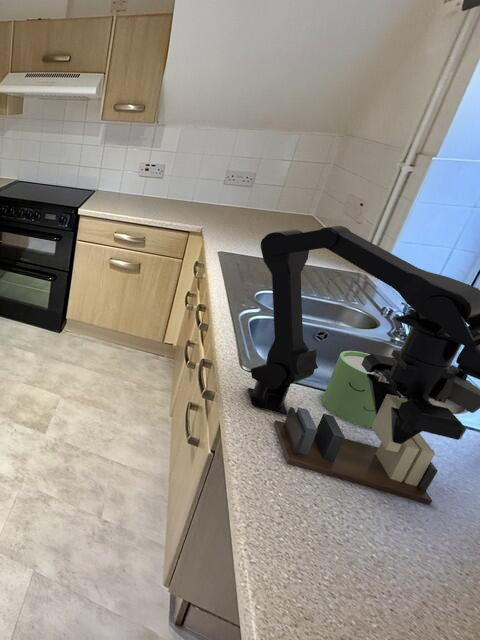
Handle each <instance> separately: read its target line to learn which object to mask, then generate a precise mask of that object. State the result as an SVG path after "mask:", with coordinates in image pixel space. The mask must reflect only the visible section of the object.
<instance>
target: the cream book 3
mask: <svg viewBox="0 0 480 640" xmlns="http://www.w3.org/2000/svg"><path fill="white" fill-rule="evenodd" d="M411 439H412V440H413V441H414V443H415V444H416V445H417V447H418V448H419V451H418V453H417V455H416V457H415V459H414V460H413V462H412V464H411V466H410V468H409V470H408V471H407V473H406V475H405V477H404V479H403V480H404V482H405V483H407V484H411V485H414V486H417V485H418V483H419V482H420V480H421V478H422V476H423V474H424V473H425V471H426V469H427V467H428V466H429V464H430V462H432V460H433V459H434V456H435V455H436V452H435V451H434V450H433V448H432V447H431V446H430V445H429V443H428V442H427V441H426V439H425V438H424V437H423V436H422V435H421V432H420V433H418V434H417V435H415V436H414V437H412V438H411Z"/></svg>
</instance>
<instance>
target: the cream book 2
mask: <svg viewBox="0 0 480 640" xmlns="http://www.w3.org/2000/svg"><path fill="white" fill-rule="evenodd" d="M378 447H379V448H378V450H377V452H376V456H377V458H378V459H379V461H380V462H381V464H382V466H383V467H384V469H385V471H386V472H387V474H388V476H389V477H390V479H393V480H397V481H400V482H402V481H403V479H404V477H405V475H406V473H407V471H408V470H409V468H410V466H411V464H412V462H413V460H414V459H415V457H416V455H417V453H418V451H419V448H418V447H417V445H416V444H415V443H414V441H413V440H412V439H411V438H410V439H409V440H407V441H406V442H404V443H402V445H401V447H400V449H399V451H398V452H394V451H390V450H386V449H385V447H384V446H383V444H382V442H381V441H380V444H379V446H378Z"/></svg>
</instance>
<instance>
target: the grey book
mask: <svg viewBox="0 0 480 640" xmlns="http://www.w3.org/2000/svg"><path fill="white" fill-rule="evenodd" d="M295 412H296V414H297V416H298V419H299V421H300V423H301V426H302V428H303V430H304V433H305V437H304V440H303V442H302V445H301V447H300V450H299V452H298V453H302V454H305V455H307V454H308V452H309V450H310V447H311V445H312V442H313V440H314V438H315V435H316V433H317V427H316V426H317V425H316V424H315V421H314V419H313V417H312V415H311V413H310V411H309V409H307V408H303V407H297V409H296V411H295Z"/></svg>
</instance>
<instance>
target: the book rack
mask: <svg viewBox="0 0 480 640" xmlns="http://www.w3.org/2000/svg"><path fill="white" fill-rule="evenodd" d="M296 412H297V411H296V410H295V407H293V406H290V407H289V409H288V411H287V415H286V417H285V420H284V421H281V420H278V419H275V420H274V423H273V426H274V429H275V432H276V434H277V437H278V440H279V444H280V447H281V450H282V452H283V455H284V459H285V460H286V464H288V465H291V466H294V467H298V468H301V469H305V470H308V471H311V472H314V473H318V474H321V475H325V476H329V477H331V478H335V479H339V480H342V481H344V482H345V481H346V482H349V483H352V484H356V485H359V486H363V487H365V488H369V489H371V490H375V491H379V492H383V493H386V494H390V495H392V496H395V497H396V496H397V497H400V498H403V499H406V500H410V501H413V502H417V503H420V504H423V505H427V506H431V504H432V502H433V499H432V498H431V496H430V495H429V493H428V492H427V491H428V489H429V487H430V486H431V484H432V482H433V480H434V478H435V477H436V475H437V473H438V471H439V470H438V469H437V468H436V466H435V465H434V464H433V462H432V461H431V462H430V464H429V466H428V467H427V469H426V471H425V473H424V474H423V476H422V478H421V480H420V482H419V483H418V485H417V486H414V485H411V484H407V483H405V482H404V480H403V481H402V482H400V481H397V480H393V479H390V477H389V476H388V474H387V472H386V471H385V469H384V467H383V466H382V464H381V462H380V461H379V459H378V458H377V456H376V452H377V450H378V448H379V446H375V445H372V444H368V443H364V442H360V441H356V440H352V439H349V438H345V439H344V441H343V443H342V445H341V448H340V450H339V452H338V454H337V457H336V459H335V461H334V463H333V462H330V461H326V460H323V458H322V456H321V453H320V451H319V449H318V447H317V444H316V442H315V440H313V442H312V445H311V447H310V450H309V452H308V454H307V455H305V454H302V453H298V452H299V450H300V447H301V445H302V442H303V440H304V437H305V433H304V430H303V428H302V426H301V423H300V421H299V419H298V416H297V414H296Z"/></svg>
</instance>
